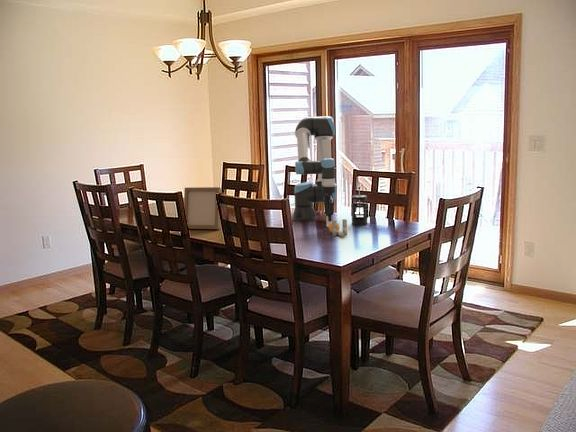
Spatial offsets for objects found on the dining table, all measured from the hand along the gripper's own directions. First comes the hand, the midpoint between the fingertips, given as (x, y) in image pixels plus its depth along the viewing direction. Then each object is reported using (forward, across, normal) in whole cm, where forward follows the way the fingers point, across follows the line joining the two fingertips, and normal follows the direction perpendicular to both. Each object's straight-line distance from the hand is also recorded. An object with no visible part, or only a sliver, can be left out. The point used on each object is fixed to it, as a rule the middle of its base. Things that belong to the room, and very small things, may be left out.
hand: (329, 226), depth 319 cm
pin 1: (+2, +16, -3) cm, 16 cm away
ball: (-1, +9, 0) cm, 9 cm away
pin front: (+1, +13, 0) cm, 13 cm away
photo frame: (+2, -38, -66) cm, 76 cm away
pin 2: (+2, +16, +3) cm, 16 cm away
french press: (+2, -8, +23) cm, 24 cm away
